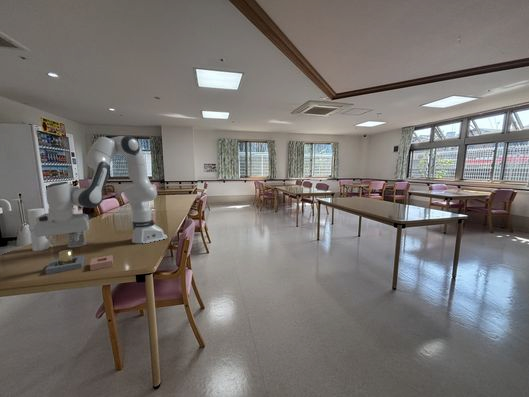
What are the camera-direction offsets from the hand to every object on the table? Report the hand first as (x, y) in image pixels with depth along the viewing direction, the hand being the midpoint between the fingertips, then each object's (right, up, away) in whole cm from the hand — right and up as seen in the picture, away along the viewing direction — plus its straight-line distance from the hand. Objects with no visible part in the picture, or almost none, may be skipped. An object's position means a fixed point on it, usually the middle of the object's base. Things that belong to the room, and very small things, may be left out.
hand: (65, 241), depth 111 cm
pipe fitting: (0, -13, +1) cm, 13 cm away
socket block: (0, -13, +1) cm, 13 cm away
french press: (-23, -9, +33) cm, 41 cm away
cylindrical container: (-39, -10, +26) cm, 47 cm away
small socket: (+17, -13, +3) cm, 21 cm away
